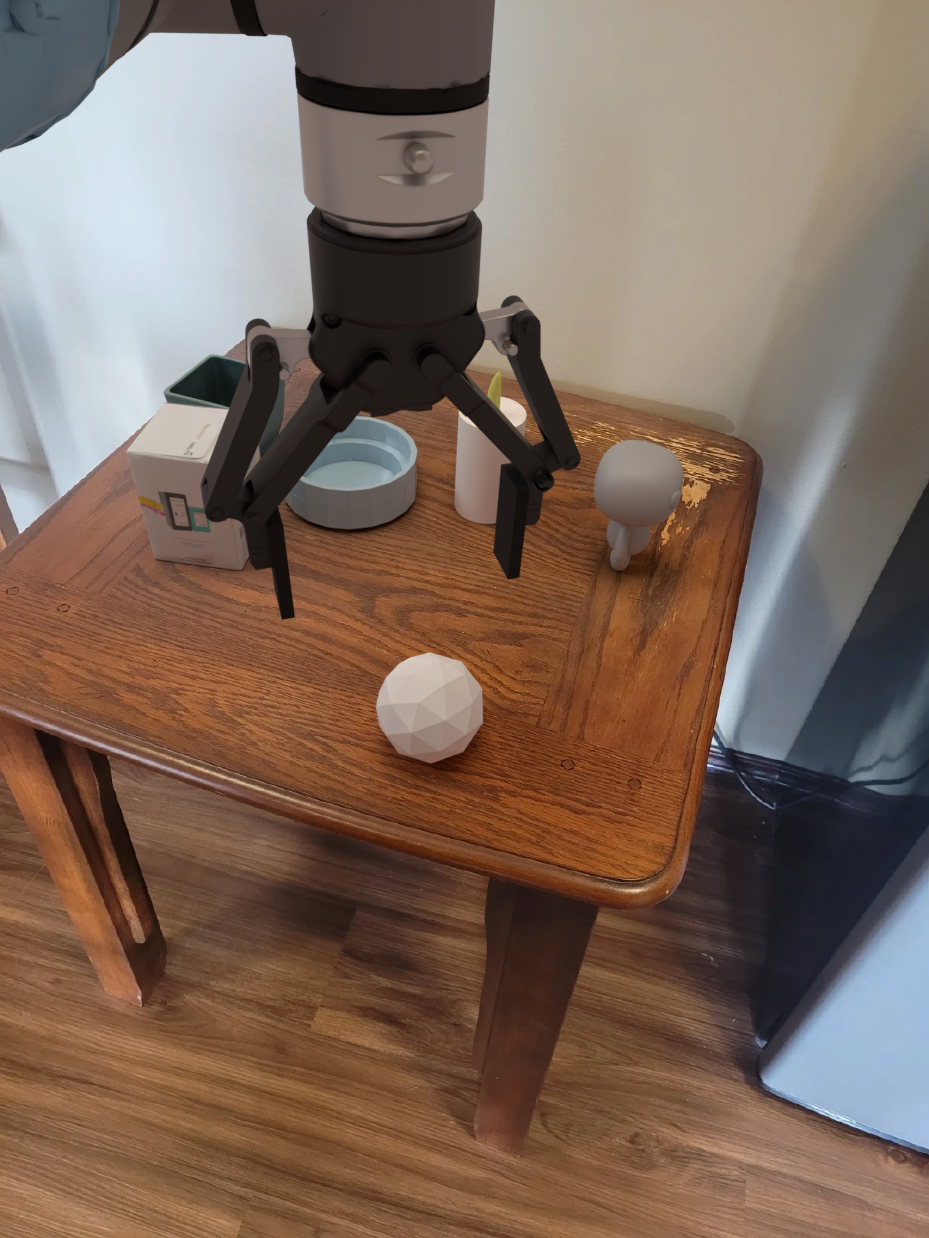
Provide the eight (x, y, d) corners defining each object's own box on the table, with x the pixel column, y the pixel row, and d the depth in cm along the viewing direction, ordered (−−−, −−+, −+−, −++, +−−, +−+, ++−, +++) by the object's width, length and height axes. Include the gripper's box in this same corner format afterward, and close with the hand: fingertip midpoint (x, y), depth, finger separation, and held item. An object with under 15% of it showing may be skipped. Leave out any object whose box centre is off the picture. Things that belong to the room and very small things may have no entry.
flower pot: (252, 490, 86) (241, 411, 79) (177, 470, 88) (160, 391, 81) (295, 447, 92) (287, 370, 85) (223, 429, 94) (211, 352, 87)
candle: (497, 480, 89) (510, 345, 79) (527, 515, 85) (544, 377, 74) (443, 493, 87) (448, 356, 77) (470, 530, 83) (480, 390, 72)
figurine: (655, 597, 77) (685, 487, 69) (573, 579, 78) (593, 469, 70) (664, 544, 83) (693, 437, 74) (588, 528, 84) (608, 421, 75)
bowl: (257, 493, 85) (251, 450, 82) (352, 443, 93) (350, 402, 89) (349, 551, 79) (347, 507, 76) (443, 492, 87) (444, 450, 84)
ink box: (187, 505, 83) (163, 398, 75) (271, 516, 83) (257, 409, 75) (151, 560, 77) (122, 450, 69) (242, 572, 77) (223, 462, 68)
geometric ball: (403, 752, 66) (363, 661, 64) (499, 718, 66) (461, 624, 64) (395, 796, 59) (350, 694, 57) (504, 757, 58) (461, 653, 56)
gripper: (82, 263, 30) (188, 667, 45) (697, 220, 37) (615, 588, 51) (82, 194, 35) (178, 578, 50) (623, 167, 42) (567, 515, 56)
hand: (399, 583), depth 51 cm, fingers open, 13 cm apart
